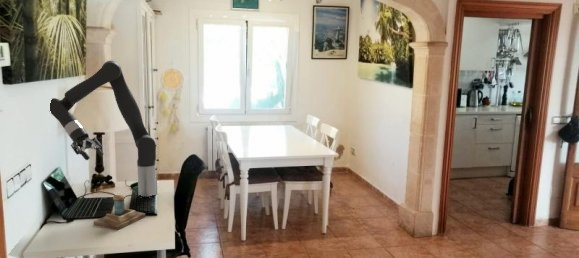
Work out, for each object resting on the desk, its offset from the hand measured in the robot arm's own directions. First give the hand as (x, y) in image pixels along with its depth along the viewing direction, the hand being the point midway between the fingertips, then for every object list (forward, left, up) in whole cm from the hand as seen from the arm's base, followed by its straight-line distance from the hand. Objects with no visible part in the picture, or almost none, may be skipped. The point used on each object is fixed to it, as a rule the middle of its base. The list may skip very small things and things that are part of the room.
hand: (95, 157), depth 218 cm
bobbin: (+6, +19, -25) cm, 32 cm away
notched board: (+6, +20, -27) cm, 34 cm away
